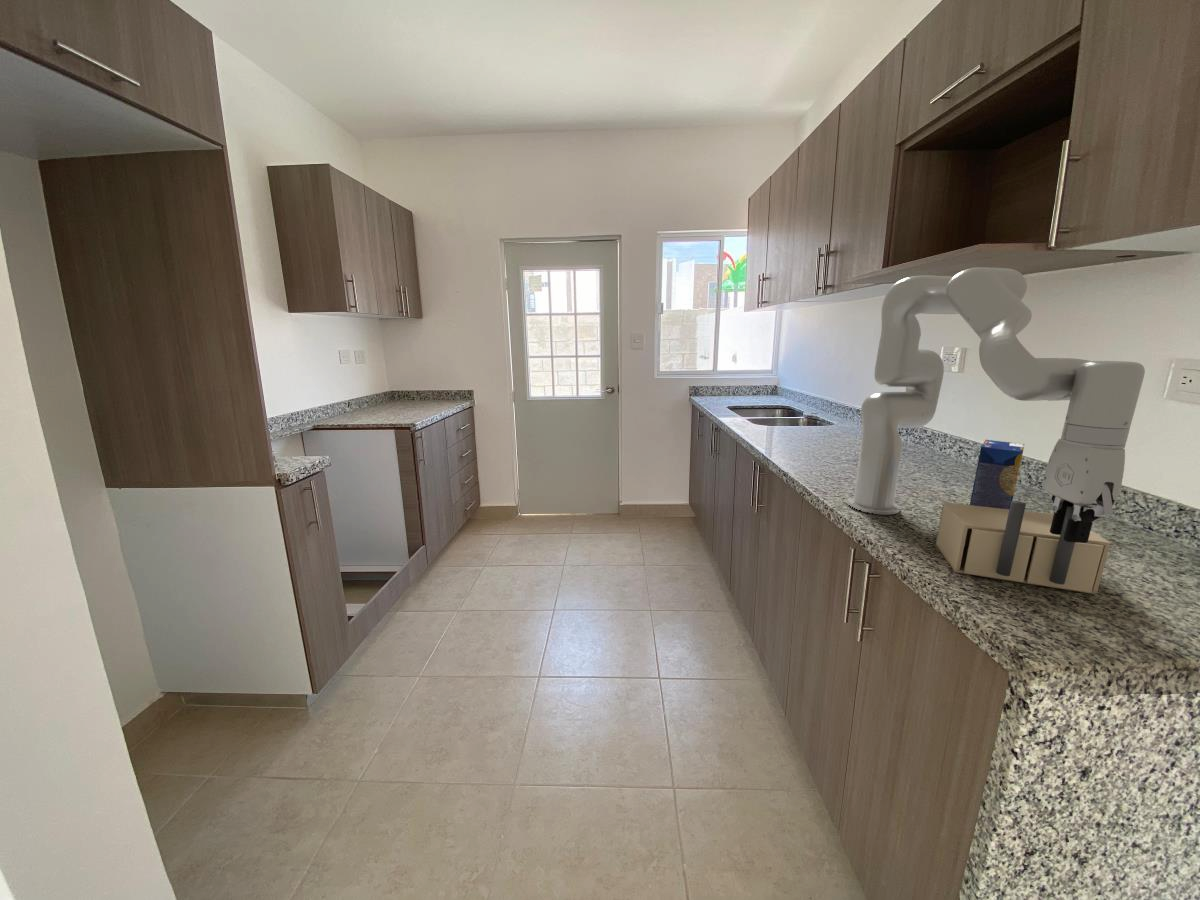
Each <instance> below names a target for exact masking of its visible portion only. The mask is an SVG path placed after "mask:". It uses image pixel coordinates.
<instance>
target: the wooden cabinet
mask: <svg viewBox="0 0 1200 900" xmlns="http://www.w3.org/2000/svg"><path fill="white" fill-rule="evenodd" d="M1008 514H1009V509H1001V508H991V507H982V506H973V505H970V504H963V503H953V502H945V501H943V502H942V508H941V514H940V519H939V525H938V529H937V536H936V539H935V540H936V542H935V546H936V547H937V548H938V550H939V551H940V552H941V554H942V556H943V557H944V558H945V560H946V562H947V563H948V564H949V565H950V567H951V568H952V570H953V571H954V573H958V574H964V575H969V576H970V575H971V576H976V577H977V576H978V577H982V578H983V577H984V578H990V579H997V580H1000V581H1008V582H1009V581H1010V582H1016V583H1021V584H1028V585H1032V586H1033V585H1034V586H1040V587H1048V588H1054V589H1058V590H1059V589H1060V590H1067V591H1072V592H1073V591H1074V592H1079V593H1086V594H1092V595H1097V594H1098V590H1099V587H1100V582H1101V581H1102V576H1103V573H1104V569H1105V565H1106V562H1107V559H1108V554H1109V551H1110V550H1109V549H1110V546H1111V542H1110V541H1108V540H1107V539H1105V538H1104V537H1103V536H1101V535H1099V534H1098V533H1096V532H1094V531H1092V530H1091V531H1090V535H1089V539H1088V542H1087V543H1089V544H1097V545H1103V546H1104V548H1103V551H1102V555H1101V559H1100V562H1099V566H1098V570H1097V573H1096V577H1095V581H1094V584H1093V588H1092V592H1091V593H1090V592H1083V591H1077V590H1070V589H1064V588H1057V587H1051V586H1044V585H1038V584H1032V583H1027V582H1026V580H1027V576H1028V572H1029V567H1030V563H1031V559H1032V555H1033V550H1034V546H1035V542H1036V538H1037V537H1041V538H1049V539H1057V540H1059V538H1060V535H1056V534H1052V533H1050V528H1051V524H1052V520H1053V516H1054V513H1045V512H1035V511H1026V510H1025V511H1024V515H1023V520H1022V524H1021V529H1020V533H1019V535H1025V536H1033V537H1034V538H1033V543H1032V547H1031V551H1030V556H1029V560H1028V564H1027V568H1026V573H1025V577H1024V581H1023V582H1019V581H1012V580H1006V579H999V578H993V577H987V576H980V575H974V574H967V573H964V568H965V563H966V558H967V553H968V548H969V543H970V538H971V533H972V529H977V530H985V531H993V532H1001V533H1004V532H1005V528H1006V523H1007V519H1008Z"/></svg>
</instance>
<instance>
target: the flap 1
mask: <svg viewBox="0 0 1200 900" xmlns="http://www.w3.org/2000/svg"><path fill="white" fill-rule="evenodd" d="M1026 504H1027V503H1026V502H1023V501H1020V500H1012V501H1011V505H1010V509H1009V514H1008V519H1007V523H1006V528H1005V532H1004V533H1001V532H993V531H985V530H977V529H972V533H971V538H970V543H969V548H968V553H967V558H966V563H965V568H964V573H967V574H966V575H969V574H974V575H973V576H976V575H980V576H979V577H982V576H987V577H986V578H989V577H993V578H992V579H995V578H999V579H998V580H1001V579H1006V580H1005V581H1008V580H1012V581H1011V582H1014V581H1019V582H1018V583H1021V582H1023V581H1024V577H1025V573H1026V568H1027V564H1028V560H1029V556H1030V551H1031V547H1032V543H1033V538H1034V537H1033V536H1025V535H1019V533H1020V529H1021V524H1022V520H1023V515H1024V511H1026V506H1027V505H1026Z"/></svg>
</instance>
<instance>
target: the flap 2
mask: <svg viewBox="0 0 1200 900" xmlns="http://www.w3.org/2000/svg"><path fill="white" fill-rule="evenodd" d="M1073 512H1074V507H1067V510H1066V514H1065V518H1064V522H1063V526H1062V530H1061V534H1060V538H1059V540H1057V539H1049V538H1041V537H1037V538H1036V542H1035V546H1034V550H1033V555H1032V559H1031V563H1030V567H1029V572H1028V576H1027V580H1026V582H1027V583H1032V584H1031V585H1033V584H1038V585H1037V586H1040V585H1044V586H1043V587H1046V586H1051V587H1050V588H1053V587H1057V588H1056V589H1059V588H1064V589H1063V590H1066V589H1070V590H1069V591H1072V590H1077V591H1076V592H1078V591H1083V592H1082V593H1085V592H1090V593H1089V594H1091V592H1092V588H1093V584H1094V581H1095V577H1096V573H1097V570H1098V566H1099V562H1100V559H1101V555H1102V551H1103V548H1104V546H1103V545H1097V544H1089V543H1077V542H1067V541H1065V540H1064V535H1065V531H1066V527H1067V523H1068V520H1069V519H1073V518H1072V517H1073ZM1027 583H1026V584H1027Z"/></svg>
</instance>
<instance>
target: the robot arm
mask: <svg viewBox="0 0 1200 900" xmlns="http://www.w3.org/2000/svg"><path fill="white" fill-rule="evenodd" d="M1027 288H1028V285H1027V279H1026V277H1025V276H1024V275H1023V274H1022V273H1021V272H1020V271H1018V270H1016V269H1013V268H1008V267H1007V268H1005V267H985V266H983V267H982V266H981V267H980V266H977V267H976V266H975V267H971V268H967V269H964V270H961V271H960V272H957V273H956V274H955V275H954V276H951V275H930V274H929V275H913V276H908V277H904V278H902V279H900V280H898V281H896V282H895V283H894V284H893V285H892V286H890V288H889V289H888V290H887V292H886V294H885V296H884V299H883V300H882V306H881V313H880V314H881V315H880V316H881V331H880V337H879V343H878V348H877V355H876V359H875V360H876V361H875V366H874V379H875V381H876V383H877V384H878V385H880V386H882V387H888V388H889V387H891V388H892V387H893V388H905V391H884V392H883V391H882V392H877V393H876V392H875V393H873V394H871V395H869V396H867V397H866V398H865V399H864V400H863V402H862V405H861V408H860V419H861V437H860V438H861V440H860V446H859V456H858V465H857V471H856V478H855V479H856V480H855V487H854V493H853V496H849V497H848V498H847V500H846V504H847V505H848V506H849V505H850V506H851V507H850V506H849V507H850V508H852V507H853V508H852V509H854V508H855V509H854V510H856V509H857V511H859V510H861V512H863V513H867V512H868V513H869V514H872V513H873V514H872V515H879V516H880V515H882V516H883V515H884V516H885V515H886V516H889V515H896V514H898V513H900V510H901V507H900V504H899V505H898V504H897V503H896V502H895V499H896V498H895V497H896V493H897V492H896V491H897V485H898V477H899V473H900V466H901V460H902V452H903V442H902V438H901V436H900V433H899V431H898V429H908V428H909V429H911V428H913V429H914V428H921V427H924V426H927V425H928V424H929V423H930V422H931V421H932V419H933V418H934V416H935V413H936V410H937V406H938V402H939V397H940V394H941V393H940V392H941V389H942V383H943V379H944V372H945V367H944V363H943V359H942V357H941V356H940V355H939V353H937V352H935V350H934V351H933V350H931V349H920V348H919V344H920V340H921V336H922V335H921V334H922V333H921V332H922V331H921V326H920V322H919V320H918V319H917V317H916V315H919V314H922V315H923V314H926V315H927V314H929V315H960V316H961V318H963V320H964V321H965V323H967V325H968V326H969V327H970V328H971V329H972V331H973V332H974V333H975V334H976V335H977V336H978V338H979V339H980V342H979V347H978V355H979V362H980V365H981V367H982V369H983V371H984V372H985V374H986V375H987V376H988V377H989V378H990V380H991V382H993V384H994V385H995V386H996V387H997V388H998V389H999V390H1000V391H1001V392H1002V393H1003V394H1005V395H1007V396H1008V397H1009V398H1010V399H1011V398H1012V399H1014V400H1018V401H1024V402H1026V401H1027V402H1032V401H1033V402H1034V401H1037V402H1038V401H1050V402H1051V401H1056V402H1057V401H1069V403H1068V406H1067V412H1066V414H1065V420H1064V423H1063V429H1062V432H1061V437H1060V438H1059V439H1058V440H1057V442H1056V443H1055V444H1054V447H1053V449H1052V451H1051V453H1050V456H1049V460H1048V461H1047V465H1046V468H1045V472H1044V474H1043V478H1042V482H1041V487H1042V489H1043V491H1045V492H1046V493H1047V494H1048V495H1049V497H1050V498H1051V500H1052V503H1053V504H1052V511H1053V514H1054V516H1053V520H1052V524H1051V528H1050V533H1052V534H1056V535H1060V534H1061V530H1062V526H1063V522H1064V518H1065V514H1066V510H1067V507H1074V512H1073V517H1072V518H1073V519H1069V520H1068V523H1067V527H1066V531H1065V535H1064V540H1065V541H1067V542H1077V543H1087V542H1088V539H1089V535H1090V531H1092V527H1093V523H1097V521H1098V519H1100V518H1102V517H1103V518H1105V517H1112V516H1113V515H1114V509H1113V508H1114V506H1115V505H1116V503H1117V501H1118V498H1119V496H1120V493H1121V488H1122V484H1123V478H1124V472H1125V461H1126V449H1125V447H1126V444H1127V441H1128V437H1129V433H1130V430H1131V429H1130V428H1131V426H1132V422H1133V419H1134V414H1135V412H1136V411H1135V410H1136V407H1137V403H1138V399H1139V396H1140V393H1141V390H1142V389H1141V388H1142V385H1143V381H1144V378H1145V373H1146V369H1145V366H1144V365H1143V364H1141V363H1139V362H1135V361H1123V360H1122V361H1121V360H1089V359H1082V358H1072V357H1070V358H1069V357H1068V358H1064V357H1063V358H1062V357H1061V358H1059V357H1034V356H1033V355H1032V354H1031V353H1030V352H1029V351H1028V350H1027V349H1026V347H1025V346H1024V345H1023V344H1022V343H1021V342H1020V340H1019V339H1018V337H1017V335H1019V333H1021V332H1022V331H1024V329H1026V327H1027V326H1028V325H1029V324H1030V322H1031V320H1032V316H1033V313H1032V310H1031V309H1030V308H1029V307H1028V306H1027V305H1026V304H1025V303H1024V302H1023V301H1022V300H1023V298H1024V297H1025V295H1026V293H1027ZM1085 508H1087V509H1085ZM1084 509H1085V510H1084Z"/></svg>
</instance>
